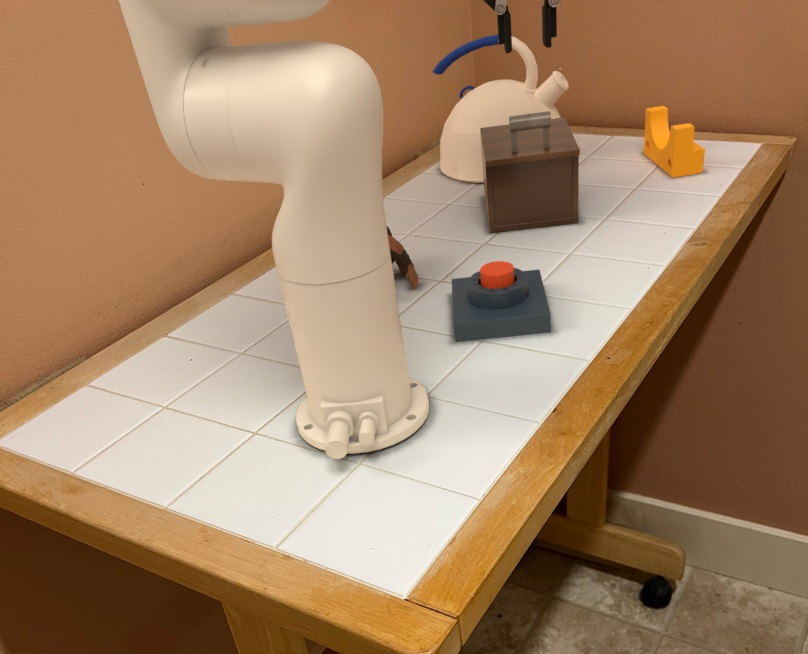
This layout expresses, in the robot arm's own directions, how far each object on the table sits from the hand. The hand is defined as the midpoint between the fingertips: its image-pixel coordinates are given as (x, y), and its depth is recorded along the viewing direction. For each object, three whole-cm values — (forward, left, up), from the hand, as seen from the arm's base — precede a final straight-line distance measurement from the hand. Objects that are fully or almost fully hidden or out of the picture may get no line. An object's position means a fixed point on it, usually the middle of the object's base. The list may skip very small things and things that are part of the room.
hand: (527, 46), depth 94 cm
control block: (-25, +6, -21) cm, 33 cm away
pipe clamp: (+17, -22, -21) cm, 35 cm away
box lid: (+5, 0, -12) cm, 13 cm away
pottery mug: (-14, +20, -21) cm, 32 cm away
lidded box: (+5, 0, -21) cm, 22 cm away
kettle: (+27, +2, -21) cm, 35 cm away
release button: (-24, +6, -18) cm, 31 cm away
